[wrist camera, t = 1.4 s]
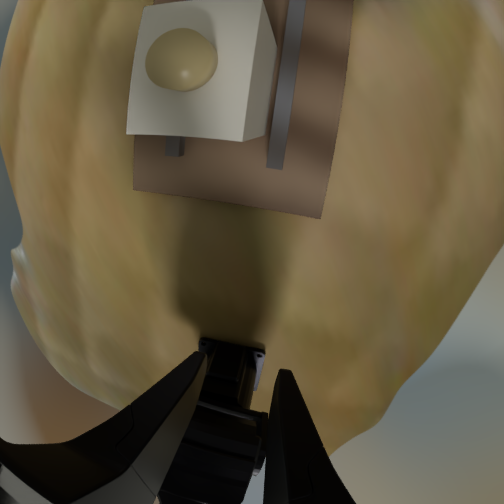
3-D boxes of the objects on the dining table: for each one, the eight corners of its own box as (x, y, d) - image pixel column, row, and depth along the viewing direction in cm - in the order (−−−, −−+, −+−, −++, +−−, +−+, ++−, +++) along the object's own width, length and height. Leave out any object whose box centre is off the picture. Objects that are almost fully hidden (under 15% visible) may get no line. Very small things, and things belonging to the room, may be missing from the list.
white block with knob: (265, 134, 17) (235, 144, 9) (191, 127, 17) (110, 136, 9) (277, 48, 14) (258, -14, 6) (201, 45, 15) (129, -2, 7)
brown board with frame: (319, 214, 20) (332, 279, 12) (139, 187, 21) (63, 227, 13) (353, -61, 9) (372, -124, 1) (180, -66, 10) (133, -116, 2)
